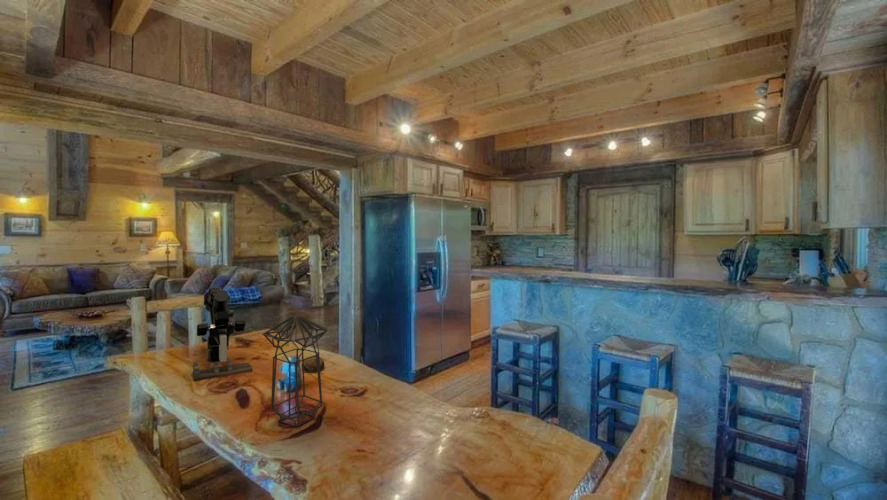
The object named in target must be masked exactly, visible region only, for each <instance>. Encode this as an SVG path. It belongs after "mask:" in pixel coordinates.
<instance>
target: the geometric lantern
mask: <svg viewBox="0 0 887 500" xmlns="http://www.w3.org/2000/svg"><path fill="white" fill-rule="evenodd" d="M284 324H285V325H284ZM282 325H284V326H283V327H282V328H281V329H280V330H275V329H277V328H279V327H280V326H282ZM298 327H299V329H300V332H301V335H302V337H300V338H297V333H298V332H297V331H298V330H297V328H298ZM273 330H275V331H273ZM294 330H295V331H294ZM303 330H304V331H305V332H306V334H307V335H308V336H307V337H306V336H305V333H304V331H303ZM289 331H290V333H289ZM313 331H315V332H316V333H315V335H313ZM319 331H320V332H319ZM321 331H322V332H321ZM328 331H329V329H328V328H326V327H325V326H322V325H320V324H318V323H316V322H313V321H312V320H309V319H307V318H305V317H303V316H301V315H299V314H298V315H297V314H296V315H295V314H294V315H292V316H290V317H288V318H286V319H285V320H283V321H282V322H279V323H278V324H276V325H275V326H273V327H272V328H270V329H267V331H265V332H262V334H261V336H264V338H265V339H266V340H267V341H268V342H269V343H270V344H271V345H272V347H273V348H275V349H276V350H275V352H274V353H275V354H274V356H273V357H272V370H271V371H272V373H271V374H272V375H271V399H270V400H271V401H270V403H271V405H270V411H271V412H273V413H274V414H276V415H277V416H278V417H279V422H280V423H282V424H285V425H287V426H291V427H294V428H296V426H297V427H300V426H302V425H304V424H305V423H307V422H308V420H309V421H311V420H313V419H315V412H317V410H318V409H320V408H322V407H323V396H322V394H323V393H322V379H321V376H322V375H321V371H320V359H319V357H320V350H319V344H318V340H320V339H321V338H322V337H323V336H324V335H326V333H327V332H328ZM294 332H295V337H294V338H295V340H293V339H292V337H293V334H294ZM288 333H289V334H288ZM273 334H275V335H273ZM285 334H286V337H283V336H284V335H285ZM270 338H271V339H270ZM310 339H311V342H312V343H309V344H308V345H307V343H308V341H309V340H310ZM274 340H276V342H277V343H276V344H277V345H276V344H275V341H274ZM300 341H304V344H303V343H302V342H300ZM280 342H285V343H283V344H282V345H280ZM290 342H292V343H293V345H294V346H295V347H296V348H293V349H290V350H287V351H284V349H283V347H284V346H286V345H287V344H289V343H290ZM296 343H297V344H298V345H300V346H301V348H299V347H298V345H297V344H296ZM315 343H316V346H315ZM311 346H312V348H313V350H310V349H307V348H309V347H311ZM316 347H317V349H316ZM278 349H279V350H280V351H281V352H280V353H278ZM293 351H296V358H295V359H296V360H295V361H291V360H290V359H289V358H288V356H287V354H286V353H289V352H293ZM299 351H301V353H300V354H299ZM306 351H307V352H311V353H314V354H315V355H311V357H310V356H308V357H309V358H312V357H315V356H316V363H317V372H316V373H317V383H318V393H319V399H317V398H314V397H311V396H309V395H306V388H305V387H306V385H305V372H304V360H306V359H309V358H307V357H305V358H306V359H305V358H304V352H306ZM281 355H284V357H285V359H286V360H287V361H286V360H284V359H280V358H278V356H281ZM300 357H301V359H300ZM299 359H300V360H299ZM278 361H280V362H284V363H286V364H288V399H285V400H283V401H281V402H279V403H276V404H275V394H276V392H275V390H276V379H277V377H276V376H277V363H278ZM300 362H301V365H302V366H301V370H302V392H303V394H301V395H300V394H299V385H298V382H299V381H298V371H299V369H298V368H299V366H298V364H299V363H300ZM291 364H292V365H294V375H295V378H294V379H295V391H294V396H292V397H291V390H292V389H291V387H292V386H291V385H292V384H291V378H292V376H291V374H292V373H291V372H292V370H291V369H292V367H291ZM301 397H302V398H301ZM299 398H301V400H300V401H299ZM304 398H306V399H309V400H312V401H315V402H318V404H317V405H316V406H315V407H314V408H310V407H305V406H303V405H302V406H301V404H302V402H303V399H304ZM293 399H294V400H295V401H294V403H295V406H292V407H291V400H293ZM286 402H288V409H287V410H285V411H284V412H283V413H282V412H279V411H278V410H277V409H276V408H275V407H277V406H280V405H282V404H284V403H286ZM302 408H303V409H306V410H307V411H305V412H304V411H301V409H302ZM293 409H294V412H291V411H292V410H293ZM285 413H286V414H287V413H288V415H285ZM300 413H301V414H300ZM294 414H297V415H295V416H293V415H294ZM308 416H310V417H311V418H308V419H307V420H305V421H303V422H301V423H300V421H301V420H302V419H304V418H306V417H308ZM312 418H313V419H312ZM286 419H287V420H289V421H292V422H294V424H292V423H288V422H286V421H283V420H286ZM310 419H311V420H310ZM306 421H307V422H306ZM301 424H302V425H301Z"/></svg>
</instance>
